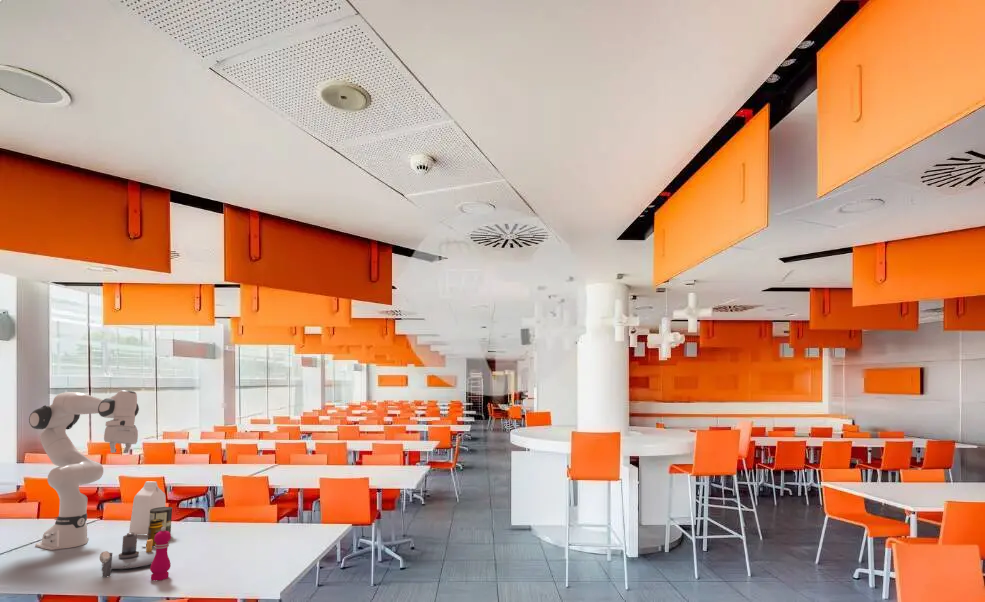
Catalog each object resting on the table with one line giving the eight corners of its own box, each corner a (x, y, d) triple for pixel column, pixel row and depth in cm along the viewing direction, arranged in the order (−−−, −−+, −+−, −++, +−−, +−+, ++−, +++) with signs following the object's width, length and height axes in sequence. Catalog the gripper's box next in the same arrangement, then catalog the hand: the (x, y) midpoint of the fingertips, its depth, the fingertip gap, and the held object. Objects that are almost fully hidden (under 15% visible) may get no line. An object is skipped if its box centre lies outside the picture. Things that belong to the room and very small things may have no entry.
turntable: (87, 566, 246) (89, 552, 246) (136, 550, 268) (137, 537, 269) (132, 571, 239) (133, 556, 240) (178, 554, 262) (179, 541, 263)
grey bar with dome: (97, 577, 235) (100, 551, 236) (104, 575, 238) (106, 549, 239) (106, 578, 234) (108, 552, 235) (112, 576, 237) (115, 550, 238)
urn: (114, 558, 254) (116, 534, 255) (129, 553, 261) (131, 530, 262) (127, 560, 252) (129, 536, 253) (142, 555, 259) (144, 531, 260)
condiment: (162, 545, 281) (164, 520, 283) (142, 548, 276) (144, 522, 278) (161, 542, 287) (163, 517, 289) (141, 545, 282) (143, 519, 284)
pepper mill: (164, 574, 239) (168, 524, 242) (173, 577, 235) (176, 526, 238) (145, 579, 233) (149, 527, 236) (154, 582, 229) (158, 530, 232)
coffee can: (163, 533, 304) (165, 505, 305) (174, 536, 298) (176, 508, 300) (143, 538, 295) (145, 509, 297) (154, 541, 289) (156, 511, 291)
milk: (128, 534, 303) (132, 483, 307) (146, 528, 314) (150, 479, 318) (147, 535, 300) (151, 483, 304) (165, 529, 311) (168, 480, 315)
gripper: (130, 425, 288) (126, 454, 284) (103, 422, 269) (98, 452, 265) (142, 425, 288) (139, 453, 284) (116, 421, 269) (112, 451, 265)
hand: (119, 453), depth 274 cm, fingers open, 8 cm apart
